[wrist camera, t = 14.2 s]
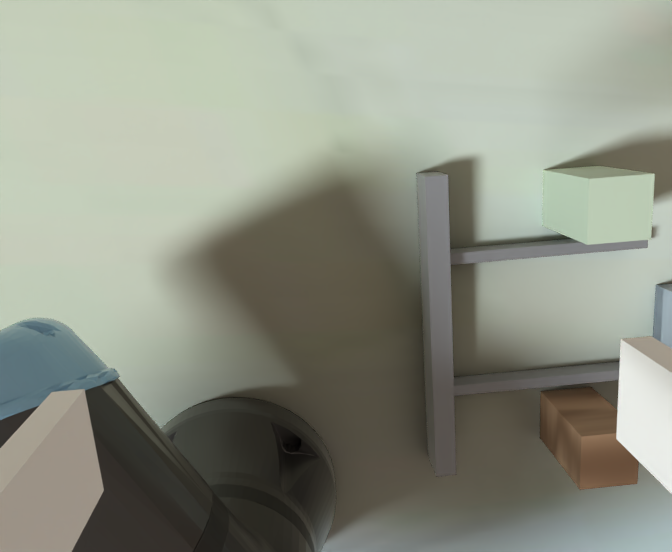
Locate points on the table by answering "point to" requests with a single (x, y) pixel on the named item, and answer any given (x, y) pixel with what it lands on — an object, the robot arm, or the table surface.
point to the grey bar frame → (439, 319)
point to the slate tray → (663, 314)
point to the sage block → (598, 204)
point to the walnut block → (585, 438)
